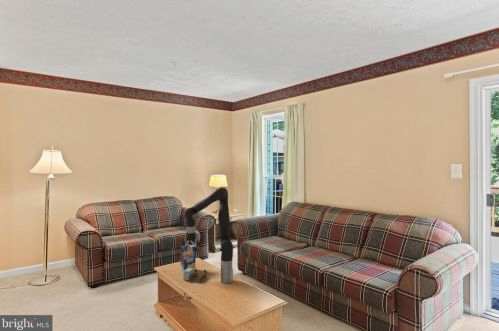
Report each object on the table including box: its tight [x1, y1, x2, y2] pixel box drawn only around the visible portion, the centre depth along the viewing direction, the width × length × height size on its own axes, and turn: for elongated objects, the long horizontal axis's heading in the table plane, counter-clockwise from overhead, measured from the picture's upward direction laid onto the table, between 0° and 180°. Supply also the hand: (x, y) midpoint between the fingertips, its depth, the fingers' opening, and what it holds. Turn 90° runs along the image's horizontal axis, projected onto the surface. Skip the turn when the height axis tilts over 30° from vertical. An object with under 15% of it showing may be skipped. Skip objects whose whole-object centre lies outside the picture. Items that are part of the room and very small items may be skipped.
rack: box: [188, 268, 207, 284], centre depth 247 cm, size 10×14×6 cm
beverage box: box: [180, 244, 197, 274], centre depth 266 cm, size 7×11×22 cm, turn 132°
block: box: [183, 268, 195, 281], centre depth 248 cm, size 5×8×7 cm, turn 164°
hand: (191, 251), depth 251 cm, fingers open, 8 cm apart
